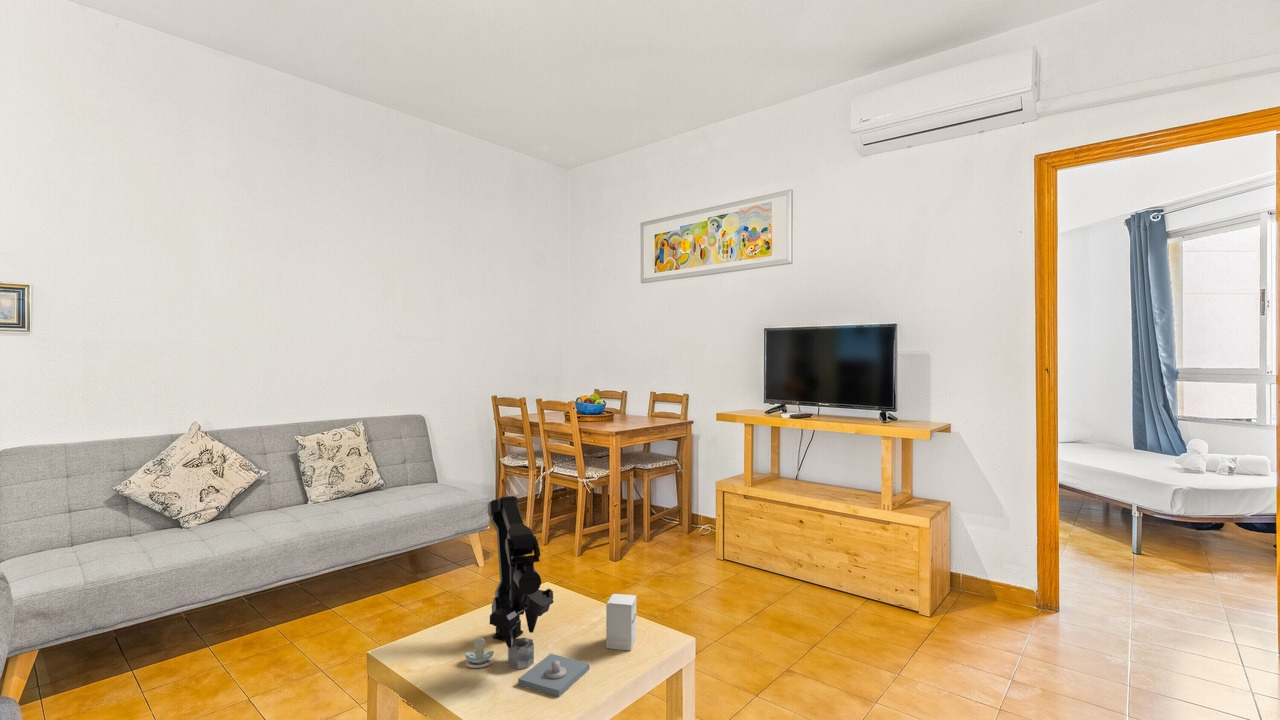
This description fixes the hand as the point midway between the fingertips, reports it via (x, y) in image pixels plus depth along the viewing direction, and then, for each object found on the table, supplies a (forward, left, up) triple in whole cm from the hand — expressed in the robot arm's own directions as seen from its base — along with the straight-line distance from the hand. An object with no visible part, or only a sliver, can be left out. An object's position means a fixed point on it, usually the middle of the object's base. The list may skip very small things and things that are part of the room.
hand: (520, 639), depth 156 cm
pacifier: (-10, -5, -6) cm, 13 cm away
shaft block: (+12, -2, -6) cm, 14 cm away
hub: (0, 0, -6) cm, 6 cm away
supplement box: (+19, +21, -6) cm, 29 cm away
